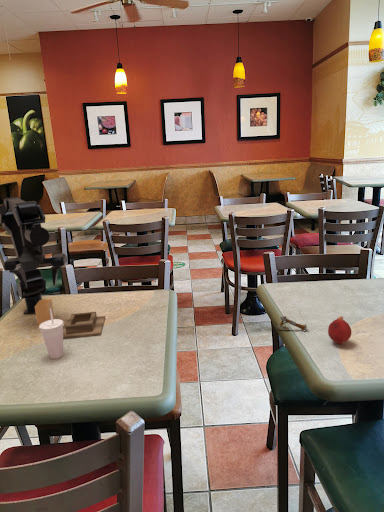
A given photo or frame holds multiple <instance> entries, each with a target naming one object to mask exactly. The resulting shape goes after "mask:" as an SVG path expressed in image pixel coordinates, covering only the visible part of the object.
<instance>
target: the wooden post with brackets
mask: <svg viewBox="0 0 384 512" xmlns="http://www.w3.org/2000/svg"><path fill="white" fill-rule="evenodd" d="M279 319H280V320H281V322H280V323H279V325H278V326H277V330H279V331H280V329H283V330H284V331H286V330H289V329H290V327H288V326H286V324H289V325H291V326H293V327H296V328H299V329H300V330H302V331H303V330H305V331H306V330H307V329H308V325H307V324H301V323H297V322H296V321H294V320H291V319H288V317H287V316H285V315H283V316H282V315H281V316H279ZM283 325H285V326H283Z"/></svg>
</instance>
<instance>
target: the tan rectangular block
mask: <svg viewBox="0 0 384 512" xmlns="http://www.w3.org/2000/svg"><path fill="white" fill-rule="evenodd" d="M49 309H52V314H53V319H56V317H55V312H54V305H53V300H52V298H47V299H42V300H39V302H38V303H37V304H36V306H35V312H36V313H35V316H36V321H37V327H39V325H40V324H41V323H43V322H45V321H48V320H51V316H50V310H49Z"/></svg>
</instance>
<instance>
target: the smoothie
mask: <svg viewBox="0 0 384 512" xmlns="http://www.w3.org/2000/svg"><path fill="white" fill-rule="evenodd" d="M49 310H50V316H51V320H48V321H45V322H43V323H41V324H40V325H39V326H38V327H39V328H38V329H39V331H40V332H41V335H42V338H43V341H44V344H45V346H46V351H47V353H48V357H49V358H50V359H51V360H56V359H60V358H62V357H63V356H64V339H63V326H64V320H63V319H58V318H54V319H53V314H52V309H49Z"/></svg>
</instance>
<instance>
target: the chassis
mask: <svg viewBox="0 0 384 512" xmlns="http://www.w3.org/2000/svg"><path fill="white" fill-rule="evenodd" d="M105 320H106V315H102V316H101V315H100V316H98V315H97V311H88V312H77V313H71V314H70V317H69V318H68V319H65V321H64V322H63V324H64V326H63V340H70V339H77V338H78V339H79V338H86V337H87V338H88V337H97V336H101V335H102V332H103V328H104V325H105Z"/></svg>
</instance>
